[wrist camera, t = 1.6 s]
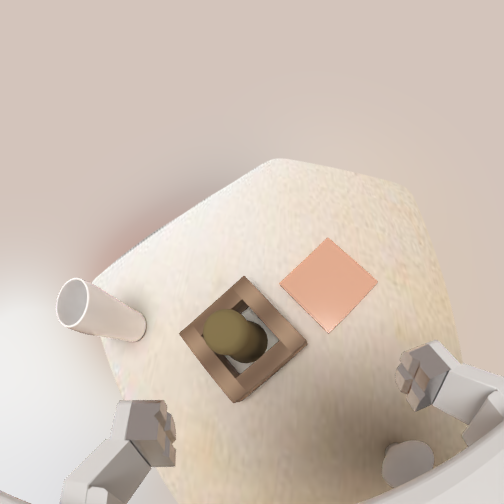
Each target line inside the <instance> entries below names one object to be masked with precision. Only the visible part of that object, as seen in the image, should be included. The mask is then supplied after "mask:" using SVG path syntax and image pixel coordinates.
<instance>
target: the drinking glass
mask: <svg viewBox="0 0 504 504" xmlns="http://www.w3.org/2000/svg"><path fill="white" fill-rule="evenodd" d="M56 313H57V317H58V320H59V321H60V323H61V324H62V325H63V326H65V327H67V328H70V329H72V330H75V331H78V332H81V333H85V334H88V335H93V336H100V337H106V338H113V339H119V340H125V341H128V342H135V341H138V340H139V339H140V338H141V337H142V336H143V335H144V333H145V330H146V321H145V318H144V316H143V315H142V314H141V313H140V312H138V311H136V310H134V309H132V308H131V307H129V306H127V305H126V304H124V303H122V302H121V301H119V300H118V299H116V298H115V297H113V296H112V295H110V294H109V293H107V292H106V291H104V290H102V289H101V288H99V287H97V286H95V285H94V284H92V283H89V282H87V281H85V280H83V279H81V278H73V279H70V280H69V281H67V282H66V283H65V284H64V285H63V287H62V288H61V290H60V292H59V294H58V297H57V303H56Z"/></svg>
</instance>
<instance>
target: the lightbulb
mask: <svg viewBox="0 0 504 504" xmlns="http://www.w3.org/2000/svg"><path fill="white" fill-rule="evenodd" d="M385 456H386V457H385V458H384V461H383V463H382V477H383V479H384V480H385V482H386V483H387V484H388V485H389V486H391V487H393V488H396V487H398V486H400V485H402V484H404V483H407V482H409V481H411V480H413V479H415V478H417V477H418V476H420V475H422V474H424V473H426V472H428V471H430V470H431V469H432V468H433V465H434V455H433V452H432V450H431V448H430V447H429V446H428V445H427V444H426V443H424V442H422V441H418V440H410V441H405V442H402V443H400V444H399V443H392V444H390V445H389V446H388V447H387V448H386V450H385Z"/></svg>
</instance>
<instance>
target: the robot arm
mask: <svg viewBox="0 0 504 504" xmlns="http://www.w3.org/2000/svg"><path fill="white" fill-rule="evenodd" d="M400 361H401V364H400V365H399V367H398V368H397V370H396V373H395V380H396V384H397V387H398V388H399V390H400V391H401V392H403V393H405V394H407V398H406V400H407V402H408V403H409V405H410V406H411V407H412V409H413V410H414V412H416V411H418V410H420V409H423V408H425V407H427V406H429V405H431V404H433V406H435V407H436V408H438V409H440V410H442V411H444V412H445V413H447V414H449V415H451V416H453V417H455V418H456V419H458V420H460V421H462V422H464V423H466V424H468V427H467V428H466V429H465V431H464V432H463V434H462V438H463V439H464V441H465V442H466V444H467V445H468V447H467V448H466V449H464V450H463V451H461V452H460V453H458V454H457V455H455V456H453V457H452V458H450V459H449V460H447V461H445V462H444V463H442V464H440V465H438V466H437V467H435V468H433V469H431V470H430V471H428V472H426V473H424V474H422V475H420V476H418V477H417V478H415V479H413V480H411V481H409V482H407V483H404V484H402V485H400V486H398V487H396V488H394V489H391V490H389V491H387V492H385V493H382V494H380V495H377V496H375V497H372V498H370V499H367V500H365V501H362V502H359V503H356V504H504V377H503V376H499V375H496V374H493V373H491V372H488V371H485V370H482V369H479V368H476V367H473V366H470V365H467V364H465V363H463V364H460V363H459V362H458V361H457V359H456V358H455V357H454V356H453V355H452V354H451V353H450V352H449V351H448V350H447V349H446V348H445V347H444V346H443V345H442V344H441V343H440V342H439V341H438V340H433V341H431V342H428V343H426V344H422V345H420V346H417V347H415V348H412V349H410V350H407V351H404V352H403V353H402V354H401V357H400ZM175 440H176V429H175V423H174V420H173V417H172V415H171V414H170V413H168V412H167V405H166V403H165V401H164V400H120V401H119V403H118V404H117V407H116V412H115V416H114V420H113V425H112V430H111V435H110V439H105V440H104V441H103V442H102V443H101V445H99V447H98V448H97V449H95V450H94V451H93V452H92V453H91V454H90V455H89V456H88V457H87V458H86V459H85V460H84V461H83V462H82V463H81V464H80V465H79V466H78V467H77V468H76V469H75V470H74V471H73V472H72V473H71V474H70V475H69V476H68V477H67V478H66V479H65V480H64V483H63V488H62V493H61V498H60V504H127V502H128V501H129V500H130V498H131V497H132V495H133V494H134V492H135V491H136V490H137V488H138V487H139V485H140V484H141V483H142V481H143V480H144V478H145V477H146V475H147V474H148V472H149V471H150V470H151V467H173V466H175V460H176V450H175V448H174V447H173V445H172V443H173V442H174V441H175ZM0 504H31V503H28V502H25V501H23V500H20V499H18V498H16V497H13V496H11V495H9V494H6V493H4V492H2V491H0Z"/></svg>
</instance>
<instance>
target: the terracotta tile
mask: <svg viewBox="0 0 504 504" xmlns="http://www.w3.org/2000/svg"><path fill="white" fill-rule="evenodd" d="M377 282H378V281H377V280H376V279H374V278H373V277H372V276H371V275H370V274H369V273H368V272H367V271H366V270H365V269H363V268H362V267H361V266H360V265H359V264H358V263H357V262H356V261H354V260H353V259H352V258H351V257H350V256H349V255H348V254H346V253H345V252H344V251H343V250H342V249H341V248H340V247H338V246H337V245H336V244H335V243H334V242H333V241H331V240H330V239H329V238H327V239H326V240H325V241H323V242H322V243H321V244H320V245H319V246H318V247H317V248H316V249H315V250H314V251H313V252H312V253H311V254H310V255H309V256H308V257H307V258H306V259H305V260H304V261H303V262H301V263H300V264H299V265H298V266H297V267H296V268H295V269H294V270H293V271H292V272H291V273H290V274H289V275H288V276H286V277H285V278H284V279H283V280H282V281H281V282H280V283H279V284H280V286H281V287H282V288H283V289H284V290H285V291H286V292H287V293H288V294H289V295H290V296H291V297H292V298H293V299H294V300H295V301H296V302H297V303H298V304H299V305H300V306H301V307H302V308H303V309H304V310H305V311H306V312H307V313H308V314H309V315H310V316H311V317H312V318H313V319H314V320H315V321H316V322H317V323H318V324H319V325H320V326H321V327H322V328H323V329H324V330H325V331H326V332H327V333H328V334H329V333H330V332H331V331H332V330H333V329H334V328H335V327H336V326H337V325H338V324H339V323H340V322H341V321H342V320H343V319H344V318H345V317H346V316H347V315H348V314H349V313H350V312H351V311H352V310H353V309H354V307H355V306H356V305H357V304H358V303H359V302H360V301H361V300H362V299H363V298H364V297H365V296H366V295H367V294H368V293H369V291H370V290H371V289H372V288H373V287H374V286H375V285H376V284H377Z"/></svg>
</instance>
